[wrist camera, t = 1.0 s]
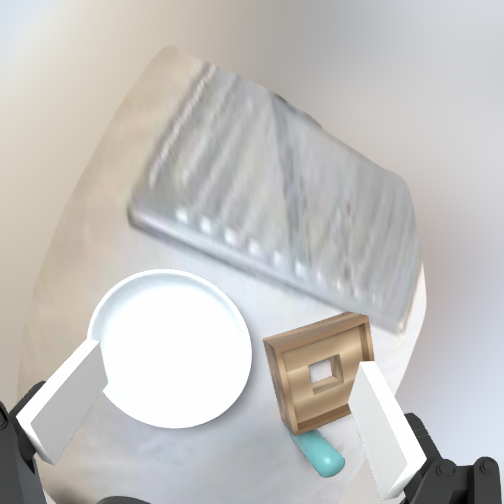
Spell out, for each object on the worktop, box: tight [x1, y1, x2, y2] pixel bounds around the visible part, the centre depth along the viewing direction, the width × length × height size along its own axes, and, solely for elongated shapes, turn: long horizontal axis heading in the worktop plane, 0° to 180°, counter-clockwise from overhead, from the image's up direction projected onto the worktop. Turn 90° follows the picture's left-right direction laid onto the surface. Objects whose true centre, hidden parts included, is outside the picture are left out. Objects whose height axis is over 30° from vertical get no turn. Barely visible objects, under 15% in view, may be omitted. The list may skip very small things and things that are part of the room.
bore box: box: [263, 312, 375, 437], centre depth 41 cm, size 15×15×6 cm
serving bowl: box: [87, 269, 252, 429], centre depth 36 cm, size 21×21×7 cm
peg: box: [290, 429, 345, 477], centre depth 37 cm, size 4×4×12 cm
